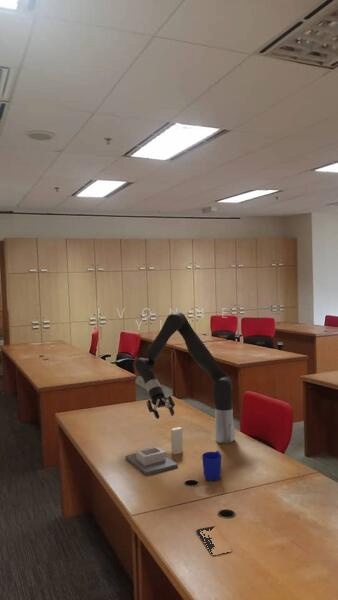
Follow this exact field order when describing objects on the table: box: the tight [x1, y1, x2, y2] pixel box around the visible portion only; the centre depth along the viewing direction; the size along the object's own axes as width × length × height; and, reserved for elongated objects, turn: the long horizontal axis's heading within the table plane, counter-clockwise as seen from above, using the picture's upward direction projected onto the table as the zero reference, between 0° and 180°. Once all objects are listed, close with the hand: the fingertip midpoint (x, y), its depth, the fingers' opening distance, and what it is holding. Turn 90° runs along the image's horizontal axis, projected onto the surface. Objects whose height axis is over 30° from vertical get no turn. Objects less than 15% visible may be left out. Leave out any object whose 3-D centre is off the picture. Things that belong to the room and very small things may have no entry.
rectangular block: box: [170, 426, 184, 455], centre depth 226 cm, size 2×5×12 cm, turn 120°
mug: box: [201, 450, 222, 482], centre depth 198 cm, size 8×12×10 cm
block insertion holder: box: [125, 445, 179, 476], centre depth 214 cm, size 22×16×6 cm
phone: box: [195, 525, 215, 555], centre depth 150 cm, size 7×1×15 cm
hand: (165, 416), depth 234 cm, fingers open, 8 cm apart
